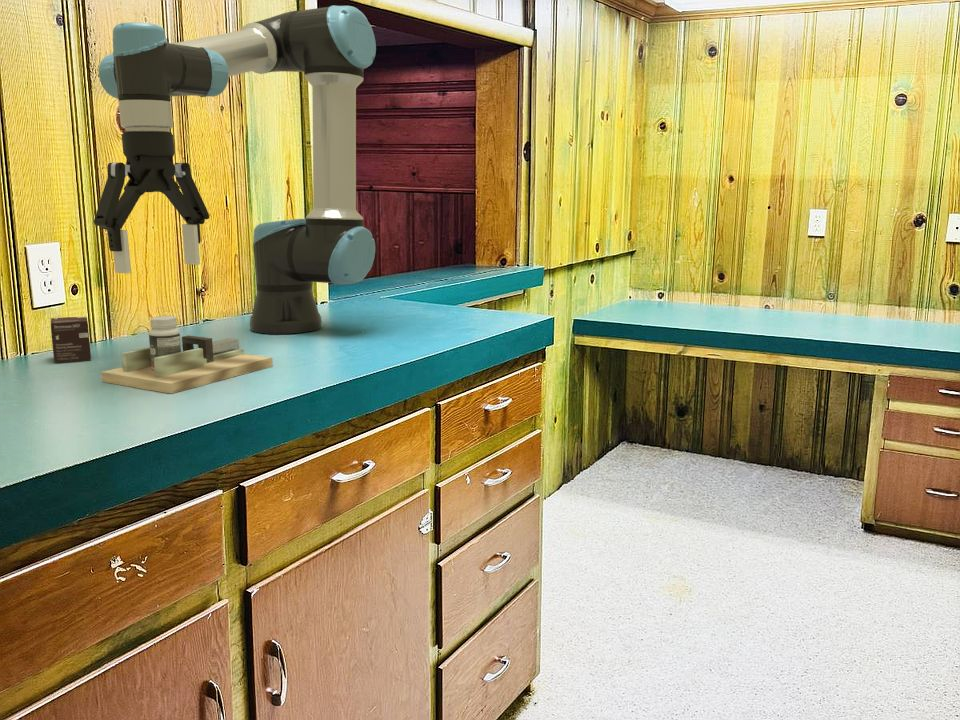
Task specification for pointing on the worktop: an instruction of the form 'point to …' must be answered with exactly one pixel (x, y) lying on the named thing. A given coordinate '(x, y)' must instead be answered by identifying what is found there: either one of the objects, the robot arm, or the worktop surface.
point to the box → (70, 339)
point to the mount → (183, 367)
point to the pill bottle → (163, 337)
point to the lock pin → (224, 345)
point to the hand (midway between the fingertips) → (159, 268)
